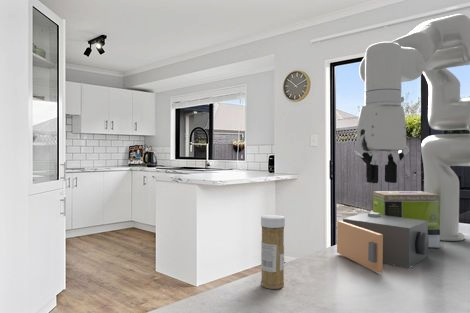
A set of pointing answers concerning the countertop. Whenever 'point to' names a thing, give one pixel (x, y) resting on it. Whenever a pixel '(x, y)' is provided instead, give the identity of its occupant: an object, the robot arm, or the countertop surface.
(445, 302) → the countertop surface
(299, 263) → the countertop surface
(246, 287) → the countertop surface
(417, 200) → the tea box
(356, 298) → the countertop surface
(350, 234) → the door
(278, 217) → the sprinkles bottle
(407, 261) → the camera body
